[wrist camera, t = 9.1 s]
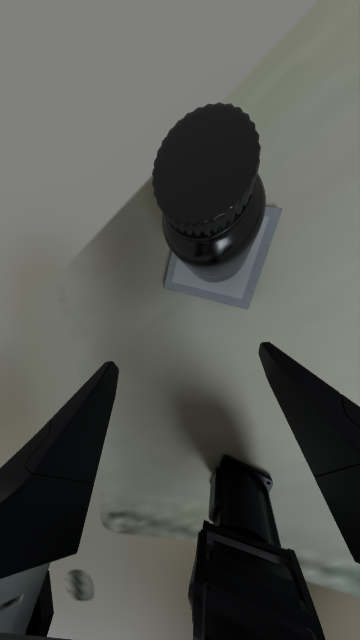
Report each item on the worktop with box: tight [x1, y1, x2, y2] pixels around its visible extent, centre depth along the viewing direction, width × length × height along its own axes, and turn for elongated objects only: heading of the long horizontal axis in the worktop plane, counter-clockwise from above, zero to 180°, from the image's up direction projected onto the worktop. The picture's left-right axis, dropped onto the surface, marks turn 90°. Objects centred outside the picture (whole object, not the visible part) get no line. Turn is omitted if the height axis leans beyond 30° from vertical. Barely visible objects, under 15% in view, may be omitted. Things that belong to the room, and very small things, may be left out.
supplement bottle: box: [152, 102, 266, 283], centre depth 12 cm, size 7×7×12 cm
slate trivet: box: [164, 207, 282, 309], centre depth 18 cm, size 11×11×1 cm
